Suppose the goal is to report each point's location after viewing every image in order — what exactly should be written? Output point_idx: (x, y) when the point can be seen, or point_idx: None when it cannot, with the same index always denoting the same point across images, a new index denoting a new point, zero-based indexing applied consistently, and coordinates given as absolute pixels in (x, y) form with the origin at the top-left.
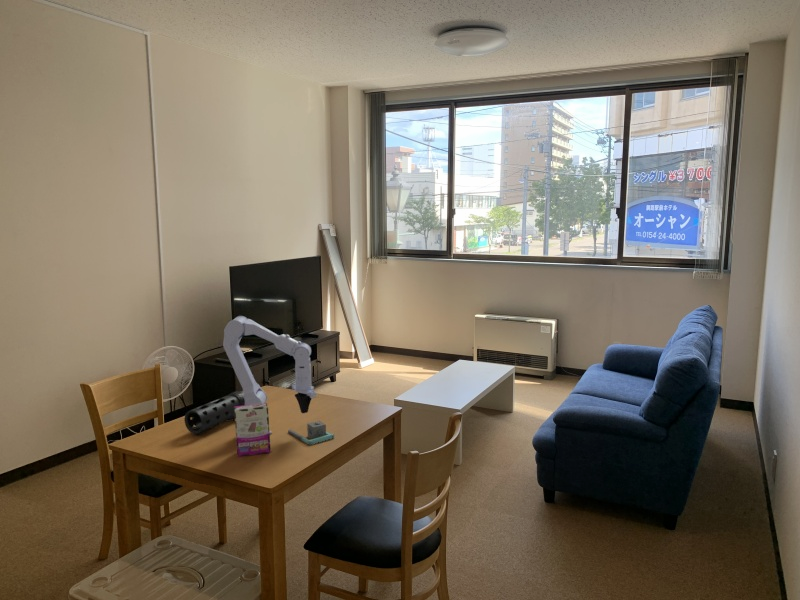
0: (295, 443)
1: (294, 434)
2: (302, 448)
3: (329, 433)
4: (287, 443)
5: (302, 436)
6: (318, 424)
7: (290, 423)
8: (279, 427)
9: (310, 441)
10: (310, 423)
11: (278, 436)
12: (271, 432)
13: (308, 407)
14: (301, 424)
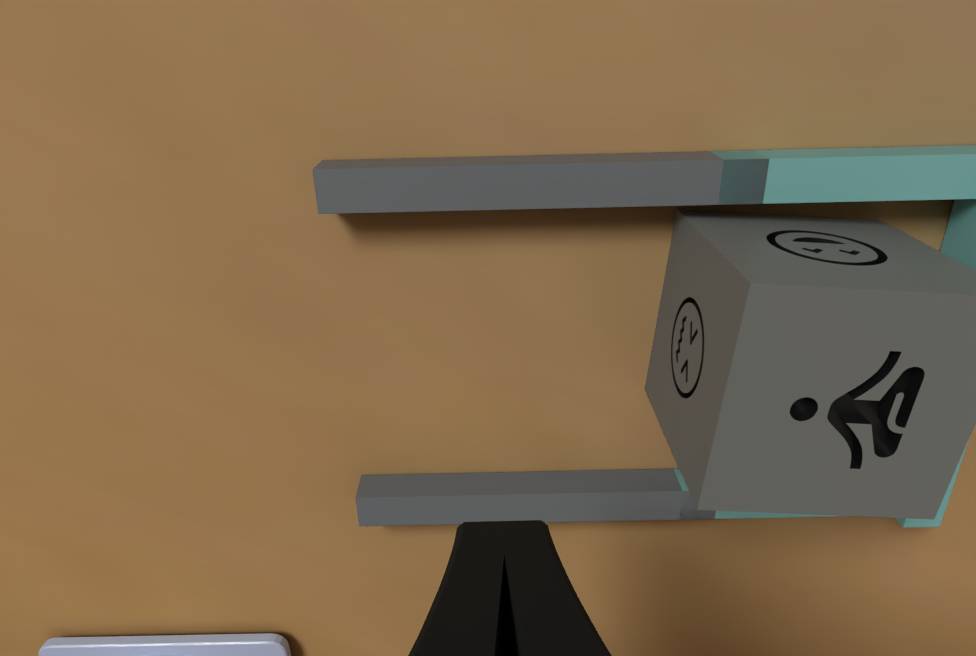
0: (729, 573)
1: (527, 514)
2: (908, 578)
3: (911, 162)
4: (664, 624)
5: (689, 495)
6: (903, 397)
7: (18, 342)
8: (116, 503)
9: (937, 514)
10: (740, 471)
11: (409, 613)
12: (284, 647)
13: (581, 606)
14: (139, 239)
